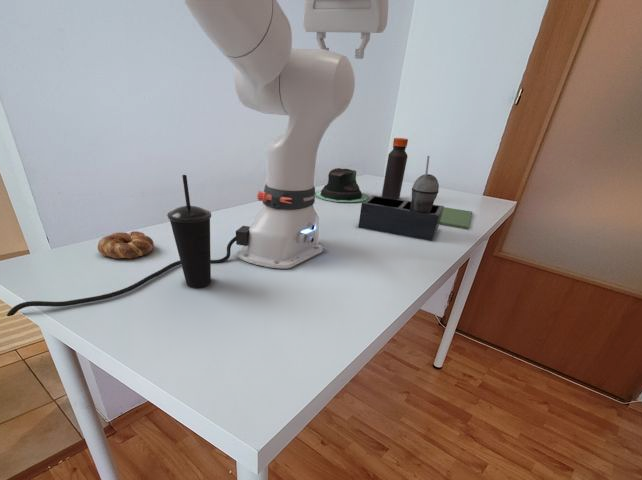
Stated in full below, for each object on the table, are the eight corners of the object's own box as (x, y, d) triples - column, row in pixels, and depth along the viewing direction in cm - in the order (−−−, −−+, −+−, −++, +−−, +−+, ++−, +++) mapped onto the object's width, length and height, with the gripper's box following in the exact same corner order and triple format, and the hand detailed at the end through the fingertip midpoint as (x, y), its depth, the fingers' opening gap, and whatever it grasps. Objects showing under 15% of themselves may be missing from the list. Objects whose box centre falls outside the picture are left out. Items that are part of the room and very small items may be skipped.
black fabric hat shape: (324, 184, 148) (372, 192, 144) (310, 217, 141) (361, 226, 137) (323, 151, 135) (376, 158, 131) (308, 185, 128) (363, 194, 124)
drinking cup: (201, 271, 78) (189, 169, 66) (225, 282, 74) (216, 176, 62) (171, 282, 73) (151, 174, 61) (194, 295, 69) (178, 182, 57)
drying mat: (467, 229, 112) (468, 226, 111) (409, 219, 117) (409, 216, 117) (471, 213, 127) (472, 211, 126) (419, 205, 132) (420, 203, 132)
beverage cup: (430, 236, 104) (451, 159, 92) (405, 235, 104) (422, 157, 92) (424, 228, 110) (442, 154, 98) (400, 227, 110) (416, 153, 98)
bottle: (378, 196, 141) (387, 137, 129) (393, 196, 142) (404, 137, 131) (386, 201, 135) (397, 139, 124) (402, 200, 137) (414, 140, 125)
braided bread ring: (98, 263, 78) (93, 246, 76) (100, 246, 87) (95, 230, 84) (156, 258, 82) (153, 242, 80) (153, 241, 90) (150, 226, 88)
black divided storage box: (432, 241, 101) (438, 215, 97) (358, 227, 108) (361, 203, 104) (437, 230, 110) (444, 206, 105) (368, 218, 116) (372, 195, 112)
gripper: (298, -23, 81) (298, 56, 90) (384, -28, 73) (374, 60, 82) (312, -21, 85) (311, 55, 94) (395, -25, 77) (385, 58, 86)
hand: (341, 57), depth 88 cm, fingers open, 8 cm apart
